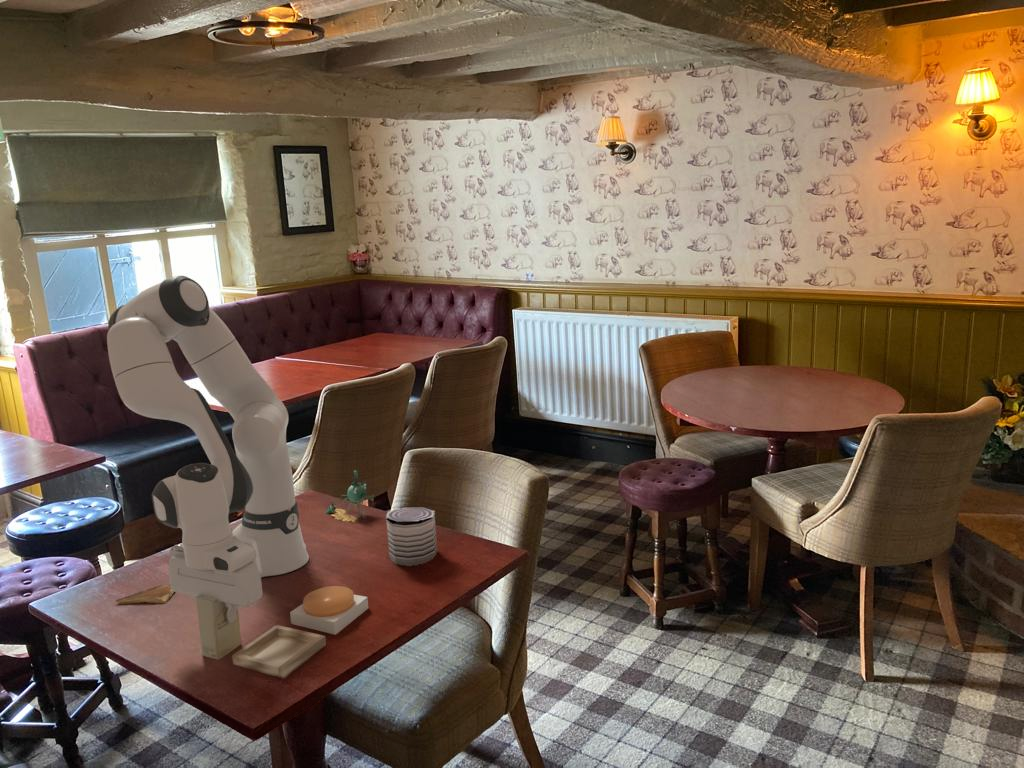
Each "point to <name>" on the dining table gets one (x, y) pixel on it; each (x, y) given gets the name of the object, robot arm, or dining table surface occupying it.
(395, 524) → the can
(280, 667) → the beige soap dish
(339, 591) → the button
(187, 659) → the dining table surface
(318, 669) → the dining table surface
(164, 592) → the shard
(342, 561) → the dining table surface
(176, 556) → the robot arm
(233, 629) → the skincare box
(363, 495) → the frog figurine
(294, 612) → the white square base
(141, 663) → the dining table surface
